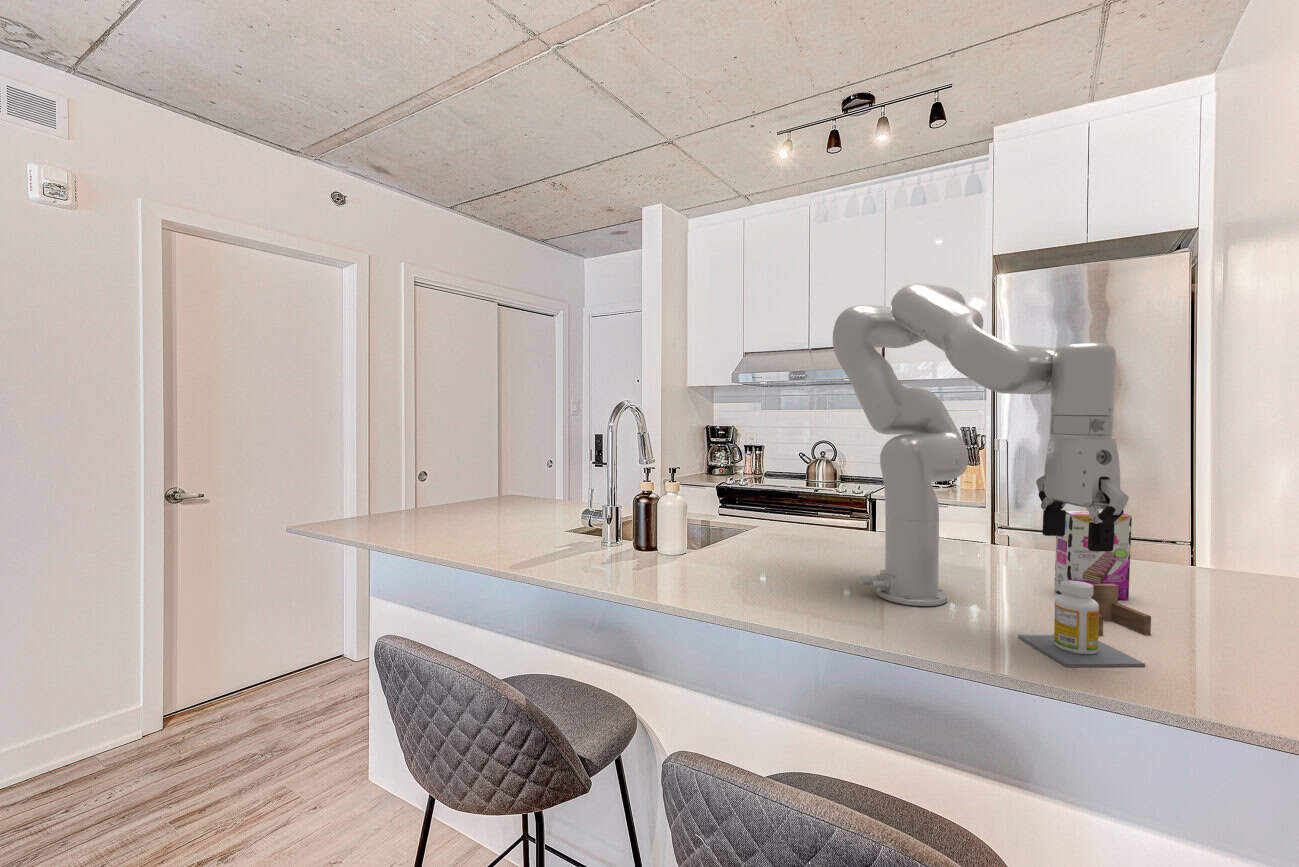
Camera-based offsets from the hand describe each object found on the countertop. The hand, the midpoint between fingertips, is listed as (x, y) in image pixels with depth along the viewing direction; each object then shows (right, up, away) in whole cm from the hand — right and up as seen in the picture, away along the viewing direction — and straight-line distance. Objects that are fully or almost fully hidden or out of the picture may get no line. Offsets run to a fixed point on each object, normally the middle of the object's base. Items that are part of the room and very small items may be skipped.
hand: (1075, 542), depth 89 cm
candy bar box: (+22, -16, +27) cm, 38 cm away
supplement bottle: (0, -16, 0) cm, 16 cm away
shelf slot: (+12, -16, +10) cm, 22 cm away
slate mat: (0, -16, 0) cm, 16 cm away
